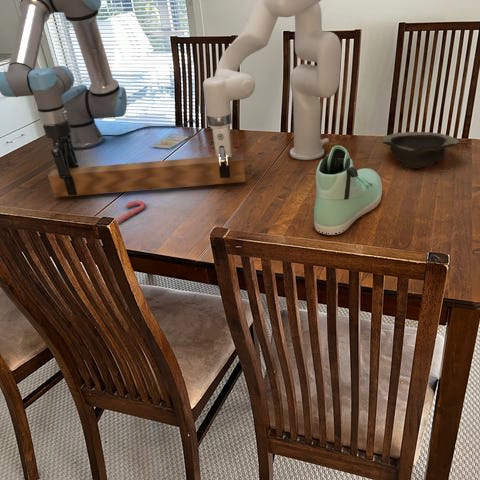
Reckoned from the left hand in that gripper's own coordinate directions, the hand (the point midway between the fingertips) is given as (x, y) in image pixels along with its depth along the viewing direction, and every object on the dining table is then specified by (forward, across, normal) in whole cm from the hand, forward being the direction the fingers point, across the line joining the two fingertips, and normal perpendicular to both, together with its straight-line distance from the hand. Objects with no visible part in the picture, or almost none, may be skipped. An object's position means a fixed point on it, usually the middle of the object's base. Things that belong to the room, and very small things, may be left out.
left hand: (75, 190), depth 158 cm
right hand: (-2, 0, -50) cm, 50 cm away
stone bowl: (+3, +9, -116) cm, 116 cm away
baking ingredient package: (+3, +46, -28) cm, 54 cm away
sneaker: (+2, -23, -85) cm, 88 cm away
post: (+1, 0, -25) cm, 25 cm away
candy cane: (+2, -17, -20) cm, 26 cm away
